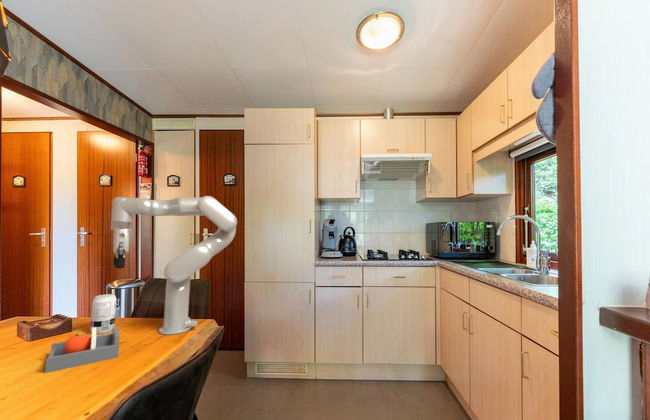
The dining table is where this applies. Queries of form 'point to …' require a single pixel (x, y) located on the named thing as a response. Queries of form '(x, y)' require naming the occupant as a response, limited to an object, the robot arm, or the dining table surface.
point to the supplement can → (103, 313)
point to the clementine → (77, 343)
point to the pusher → (93, 338)
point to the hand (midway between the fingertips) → (118, 266)
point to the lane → (84, 353)
